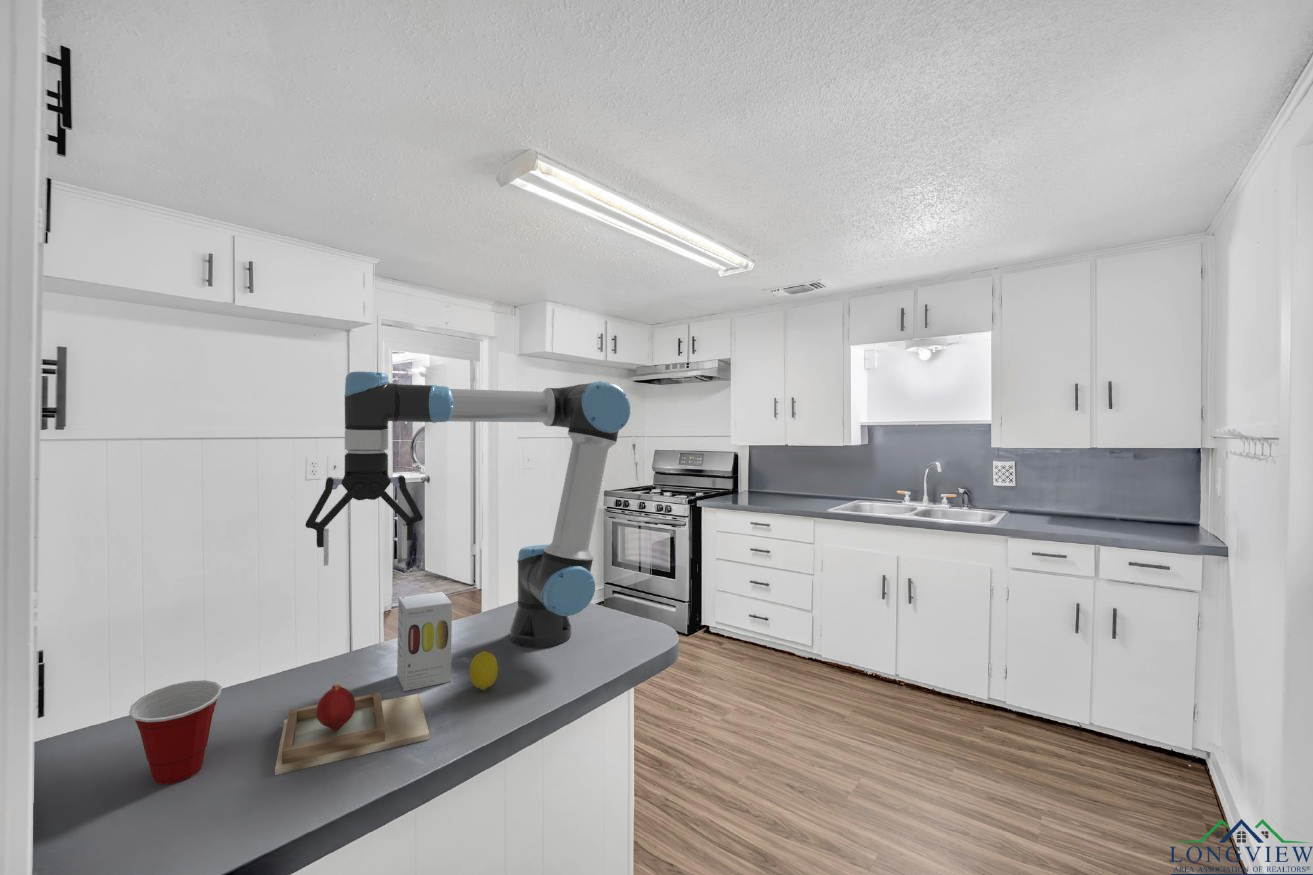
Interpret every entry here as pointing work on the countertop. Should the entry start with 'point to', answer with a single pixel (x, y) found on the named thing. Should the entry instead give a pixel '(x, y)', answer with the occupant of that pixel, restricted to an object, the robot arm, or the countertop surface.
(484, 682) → the lemon
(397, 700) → the board
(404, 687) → the supplement box
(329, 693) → the onion
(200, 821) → the countertop surface
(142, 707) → the plastic cup
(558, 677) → the countertop surface
